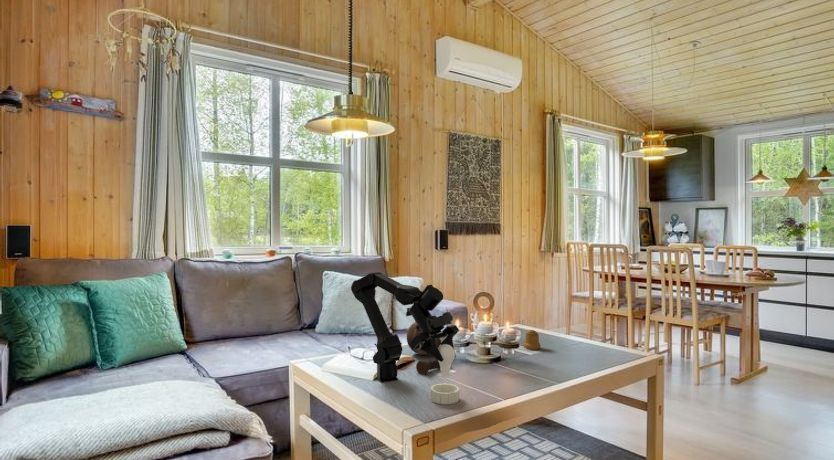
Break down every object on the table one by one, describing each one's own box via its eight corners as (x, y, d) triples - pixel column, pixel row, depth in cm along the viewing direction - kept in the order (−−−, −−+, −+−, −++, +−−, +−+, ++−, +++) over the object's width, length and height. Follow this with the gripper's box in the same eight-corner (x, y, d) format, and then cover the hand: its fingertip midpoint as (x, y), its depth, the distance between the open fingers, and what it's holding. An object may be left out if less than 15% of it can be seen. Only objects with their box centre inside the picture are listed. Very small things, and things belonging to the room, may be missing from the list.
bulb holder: (438, 406, 149) (438, 395, 149) (425, 396, 158) (425, 385, 157) (464, 402, 153) (464, 391, 153) (450, 392, 161) (450, 382, 161)
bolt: (448, 371, 190) (421, 378, 180) (440, 362, 193) (413, 369, 183) (454, 359, 188) (428, 366, 178) (446, 351, 191) (419, 357, 181)
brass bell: (528, 345, 223) (543, 348, 218) (520, 348, 218) (535, 351, 213) (528, 328, 223) (543, 330, 218) (520, 330, 217) (535, 333, 212)
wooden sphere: (423, 347, 217) (423, 314, 217) (448, 354, 207) (449, 319, 206) (399, 354, 206) (399, 319, 206) (424, 361, 196) (425, 324, 196)
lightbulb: (437, 374, 159) (438, 341, 159) (456, 376, 158) (456, 342, 157) (433, 380, 153) (434, 346, 153) (452, 382, 152) (453, 347, 151)
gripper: (417, 308, 151) (443, 350, 143) (455, 301, 164) (481, 339, 157) (399, 328, 156) (423, 370, 149) (437, 320, 170) (461, 358, 162)
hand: (448, 359), depth 154 cm, fingers closed on lightbulb, 6 cm apart
